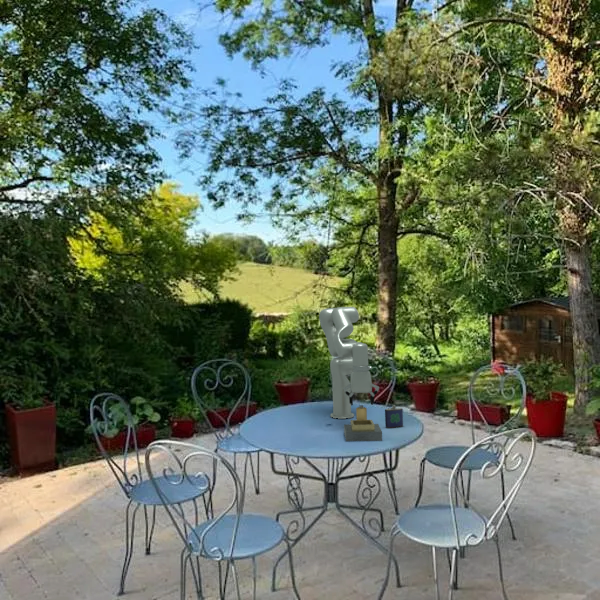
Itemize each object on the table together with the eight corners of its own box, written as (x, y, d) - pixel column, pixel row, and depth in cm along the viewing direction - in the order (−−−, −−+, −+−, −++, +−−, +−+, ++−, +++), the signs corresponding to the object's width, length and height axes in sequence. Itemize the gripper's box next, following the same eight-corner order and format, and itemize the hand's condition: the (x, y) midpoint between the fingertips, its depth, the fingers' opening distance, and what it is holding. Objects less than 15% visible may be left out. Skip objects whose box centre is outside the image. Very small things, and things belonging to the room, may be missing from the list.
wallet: (401, 425, 261) (401, 403, 261) (404, 426, 258) (403, 405, 258) (384, 427, 259) (383, 405, 258) (387, 428, 256) (386, 406, 256)
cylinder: (356, 427, 259) (355, 404, 259) (366, 427, 259) (366, 404, 259) (357, 430, 254) (356, 406, 254) (367, 430, 254) (367, 406, 254)
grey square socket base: (344, 432, 250) (343, 419, 250) (378, 432, 250) (377, 418, 250) (346, 441, 236) (345, 426, 236) (382, 440, 236) (381, 426, 236)
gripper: (377, 367, 260) (378, 402, 259) (342, 368, 260) (343, 403, 260) (379, 369, 252) (380, 405, 252) (343, 370, 253) (344, 406, 252)
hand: (361, 404), depth 256 cm, fingers open, 9 cm apart
